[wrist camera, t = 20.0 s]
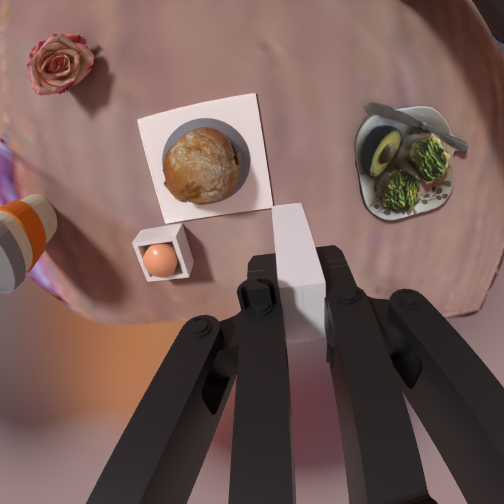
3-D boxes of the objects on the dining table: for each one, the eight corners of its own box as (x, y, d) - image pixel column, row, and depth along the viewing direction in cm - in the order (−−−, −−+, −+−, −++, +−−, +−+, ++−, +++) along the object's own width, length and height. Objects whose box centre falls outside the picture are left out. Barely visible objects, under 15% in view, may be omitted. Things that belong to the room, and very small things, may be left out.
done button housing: (141, 230, 43) (132, 242, 40) (182, 223, 42) (175, 236, 39) (154, 267, 47) (147, 281, 43) (194, 262, 46) (189, 277, 43)
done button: (144, 240, 42) (138, 250, 39) (174, 235, 41) (169, 246, 39) (155, 267, 44) (149, 279, 42) (184, 264, 44) (179, 275, 41)
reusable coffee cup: (42, 255, 46) (0, 303, 34) (9, 204, 40) (-40, 244, 28) (76, 230, 43) (28, 282, 30) (40, 171, 37) (-20, 209, 25)
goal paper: (137, 119, 34) (136, 119, 34) (255, 93, 32) (255, 93, 32) (166, 222, 42) (165, 223, 42) (273, 206, 41) (273, 208, 40)
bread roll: (243, 176, 42) (265, 181, 35) (184, 216, 40) (194, 229, 33) (209, 119, 37) (225, 110, 30) (146, 158, 36) (147, 158, 29)
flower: (38, 101, 30) (32, 108, 25) (28, 48, 23) (21, 45, 18) (94, 79, 33) (99, 82, 29) (88, 27, 27) (92, 20, 22)
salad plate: (455, 94, 30) (473, 97, 26) (462, 199, 39) (477, 211, 35) (341, 105, 33) (352, 107, 29) (362, 223, 42) (372, 237, 38)
